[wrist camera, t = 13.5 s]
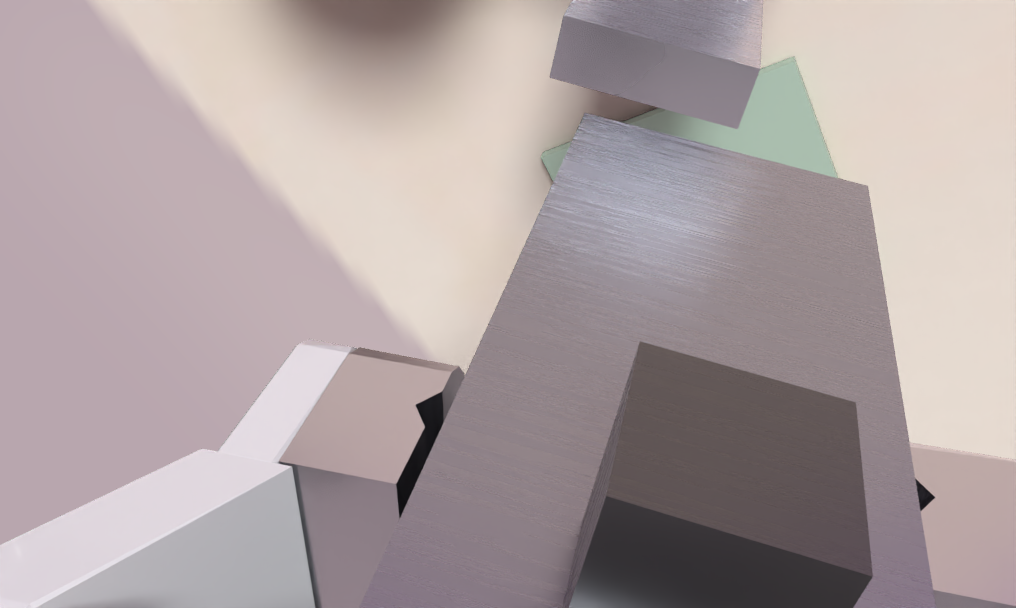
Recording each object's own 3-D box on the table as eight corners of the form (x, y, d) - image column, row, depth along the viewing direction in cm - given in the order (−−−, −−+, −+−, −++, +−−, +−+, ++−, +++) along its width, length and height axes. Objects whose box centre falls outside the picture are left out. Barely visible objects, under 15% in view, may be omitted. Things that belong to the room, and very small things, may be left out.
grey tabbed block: (922, 63, 10) (1181, 791, 3) (737, 474, 14) (695, 1188, 7) (613, -12, 10) (324, 522, 4) (515, 409, 14) (288, 1035, 8)
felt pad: (876, 282, 29) (877, 289, 29) (642, 344, 33) (641, 351, 32) (794, 56, 26) (794, 61, 26) (543, 151, 29) (540, 157, 29)
